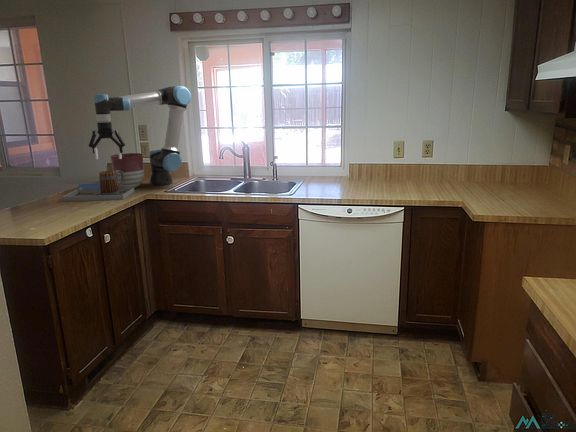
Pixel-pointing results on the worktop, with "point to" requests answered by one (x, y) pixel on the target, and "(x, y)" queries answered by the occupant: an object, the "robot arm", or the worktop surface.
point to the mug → (110, 182)
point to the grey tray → (94, 189)
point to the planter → (129, 169)
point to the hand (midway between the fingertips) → (108, 158)
